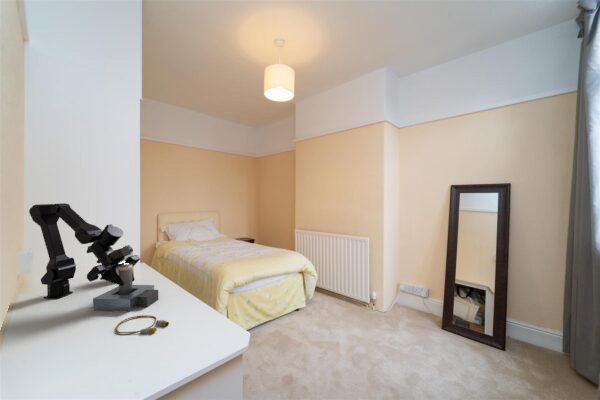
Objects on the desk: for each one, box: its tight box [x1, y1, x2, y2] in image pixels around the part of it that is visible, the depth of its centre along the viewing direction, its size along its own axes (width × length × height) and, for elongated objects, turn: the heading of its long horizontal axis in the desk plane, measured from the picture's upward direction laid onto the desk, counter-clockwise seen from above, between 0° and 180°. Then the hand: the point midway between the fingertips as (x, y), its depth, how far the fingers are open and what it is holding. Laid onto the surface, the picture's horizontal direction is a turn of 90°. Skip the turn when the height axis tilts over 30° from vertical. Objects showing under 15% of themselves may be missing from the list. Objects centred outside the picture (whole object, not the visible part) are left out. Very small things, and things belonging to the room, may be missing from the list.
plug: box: [118, 264, 133, 295], centre depth 97 cm, size 5×5×14 cm
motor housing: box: [92, 284, 159, 313], centre depth 97 cm, size 18×14×4 cm
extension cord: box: [115, 314, 170, 336], centre depth 80 cm, size 12×16×2 cm
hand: (128, 283), depth 97 cm, fingers closed on plug, 4 cm apart
